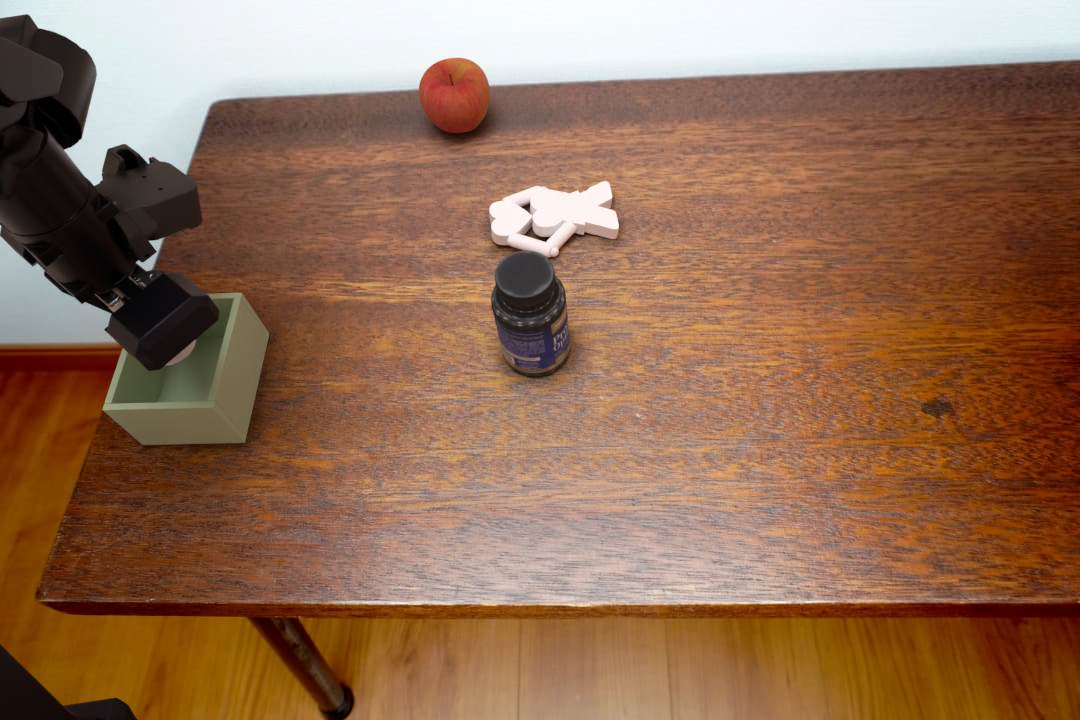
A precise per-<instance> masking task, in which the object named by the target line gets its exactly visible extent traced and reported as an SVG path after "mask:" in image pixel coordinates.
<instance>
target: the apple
mask: <svg viewBox="0 0 1080 720" xmlns="http://www.w3.org/2000/svg"><path fill="white" fill-rule="evenodd" d="M418 99H419V102H420V103H419V104H420V106H421V108H422V110H423V112H424V114H425V115H426V117H427V118H428V120H429V121H430V122H431V123H432V124H433V125H434V126H436V127H437V128H439V129H440V130H442V131H444V132H447V133H452V134H460V133H468V132H471V131H474V130H475V129H476V128H477V127H478V126H479V125H480V124H481V123H482V121H483V120H484V118H485V116H486V114H487V112H488V109H489V106H490V102H491V89H490V84H489V80H488V78H487V75H486V73H485V72H484V70H483V69H482V67H481V66H480V65H479V64H478V63H476V62H475V61H473V60H471V59H468V58H464V57H448V58H444V59H441V60H438V61H436V62H434V63H433V64H432V65H430V66H429V67H428V68H427V69H426V71H424V73H423V74H422V76H421V78H420V80H419V85H418Z"/></svg>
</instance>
